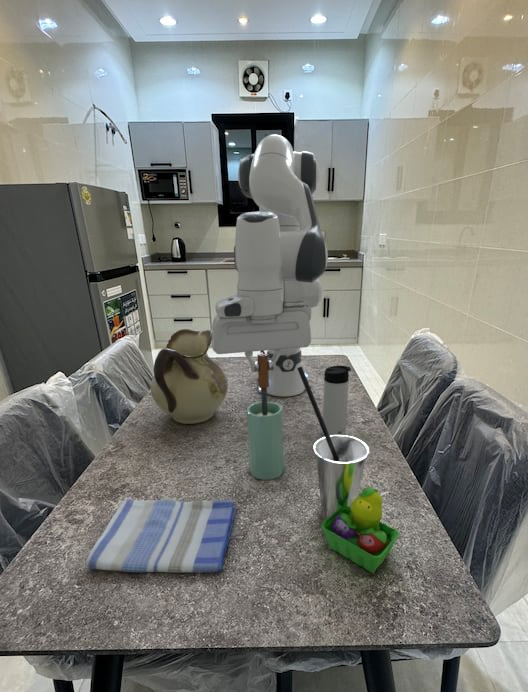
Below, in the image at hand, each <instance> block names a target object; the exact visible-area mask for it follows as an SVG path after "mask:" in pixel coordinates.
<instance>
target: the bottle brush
mask: <svg viewBox="0 0 528 692" xmlns="http://www.w3.org/2000/svg"><path fill="white" fill-rule="evenodd" d="M256 356H257V362H258V364H259V367H258V368H259V371H257V378H258V379H257V381H258V387H260V388H261V393H260V394H261V395H260V396H261V402H262V412H261V413H258V414H257V415H271V414H272V413H270V412H267V402H268V394H267V387H269V370H268V354H267V353H266V352H265V353H263V352H262V353H258V354H257V355H256Z"/></svg>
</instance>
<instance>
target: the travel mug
mask: <svg viewBox="0 0 528 692" xmlns="http://www.w3.org/2000/svg"><path fill="white" fill-rule="evenodd" d="M351 368H352V367H351V366H347V365H333V366H332V365H331V366H329V367H326V368H325V370H324V374H323V375H324V377H323V399H322V418H323V420H324V423H325V425H326V428H327V430H328V433H329V435H346V431H347V416H348V415H347V414H348V399H349V381H350V380H349V378H350V375H349V373H350V372H351V371H352V369H351ZM321 431H322V430H321ZM323 437H325V436H324V433H323V431H322V432H321V438H323Z"/></svg>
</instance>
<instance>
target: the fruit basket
mask: <svg viewBox="0 0 528 692" xmlns="http://www.w3.org/2000/svg"><path fill="white" fill-rule="evenodd" d="M382 504H383V497H382V496H381V495H380V494H379V489H377V488H372V487H370V486H367V487H365V488H364V489H362V491H361V492H360V493H358V497H357V498H356V499H355V500H354V501H353V502H352V503H351V506H350V507H349V506H346V507H340V508H339V509H338V510H337V511H335V512H334V513H333V514H332V515H331V516H330V517H328V518H327V519H326V520H324V521H323V522H322V523H321V525H320V526H321V528H322V531H323V532H324V536H325V538H326V542H327V546H328V548H330V549H331V550H333V551H335V552H338V553H339V554H340V555H341V556H343V557H345V558H346V559H349V560H350V561H352V562H353V563H355V564H356V565H358V566H359V567H363V569H365V570H366V571H368V572H369V573H371V574H374V573H375V572H376V570H377V569H378V568H380V566H381V564H382V563H383V562H384V561H385V559H386V558H388V556H389V554H390V552H391V550H392V548H393V546H394V544H395V543H396V541H397V540H398V538H399V535H400V532H399V531H398V530H397V529H395V528H393V527H391V526H389V525H387V524H385V523H384V522H381V520H382V518H383V508H382V507H383V506H382Z"/></svg>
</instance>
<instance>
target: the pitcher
mask: <svg viewBox="0 0 528 692" xmlns="http://www.w3.org/2000/svg"><path fill="white" fill-rule="evenodd" d="M211 345H212V330H209V329H207V330H195V329H191V328H190V329H189V328H184V329H182V328H181V329H179V330H177V331H175V332H173V334H172V335H170V339H169V340H168V341H167V344H166V346H165V347H164V348H162V349H160V351H158V354H157V355H156V357H155V359H154V363H153V377H152V380H151V381H150V393H151V396H152V399H153V401H154V403H155V404H156V406H157V407H158V408H159V409H160V410H161V411H162V412H164V413H165V414H167V415H169V416H170V417H172V419H173V420H174V421H175V422H176V423H179V424H186V425H191V424H199V423H204V422H206V421H208V420H210V419H211V418H212V417H213V416H214V414H215V412H216V411H217V410H218V409H219V408H220V407H221V405H222V404H223V402H224V401H225V399H226V397H227V394H228V390H229V381H228V378H227V375H226V373H225V371H224V370H223V369H222V367H221V366H220V365H219V364H218V363H217V362H215V361H214V359H212V358H211V357H210V356H209V354H208V351H209V349H210V346H211Z"/></svg>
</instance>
